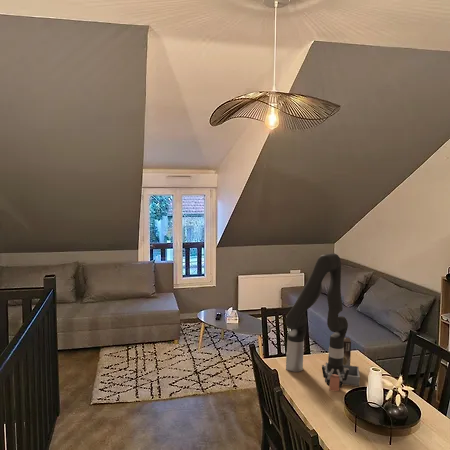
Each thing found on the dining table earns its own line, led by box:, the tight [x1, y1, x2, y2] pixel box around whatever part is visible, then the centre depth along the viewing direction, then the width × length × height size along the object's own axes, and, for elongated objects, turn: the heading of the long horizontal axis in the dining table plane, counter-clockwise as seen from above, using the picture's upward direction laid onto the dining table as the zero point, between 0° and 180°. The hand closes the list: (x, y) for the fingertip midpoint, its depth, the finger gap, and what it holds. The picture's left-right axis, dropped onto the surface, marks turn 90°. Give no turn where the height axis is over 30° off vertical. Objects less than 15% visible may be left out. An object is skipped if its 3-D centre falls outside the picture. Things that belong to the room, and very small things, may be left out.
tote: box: [324, 362, 361, 387], centre depth 238 cm, size 18×14×5 cm
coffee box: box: [343, 337, 352, 366], centre depth 254 cm, size 9×6×16 cm
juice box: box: [329, 374, 340, 392], centre depth 226 cm, size 4×4×7 cm
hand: (334, 386), depth 226 cm, fingers open, 5 cm apart
